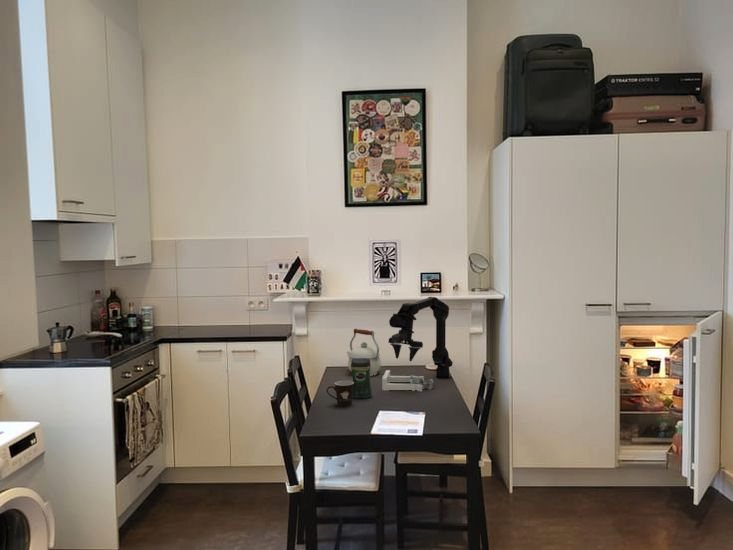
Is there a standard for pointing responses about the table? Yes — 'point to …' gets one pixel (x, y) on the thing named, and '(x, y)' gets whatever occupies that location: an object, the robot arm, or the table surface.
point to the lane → (388, 386)
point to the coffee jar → (361, 377)
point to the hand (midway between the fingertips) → (403, 359)
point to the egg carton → (425, 383)
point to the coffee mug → (343, 392)
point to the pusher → (412, 379)
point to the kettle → (365, 352)
